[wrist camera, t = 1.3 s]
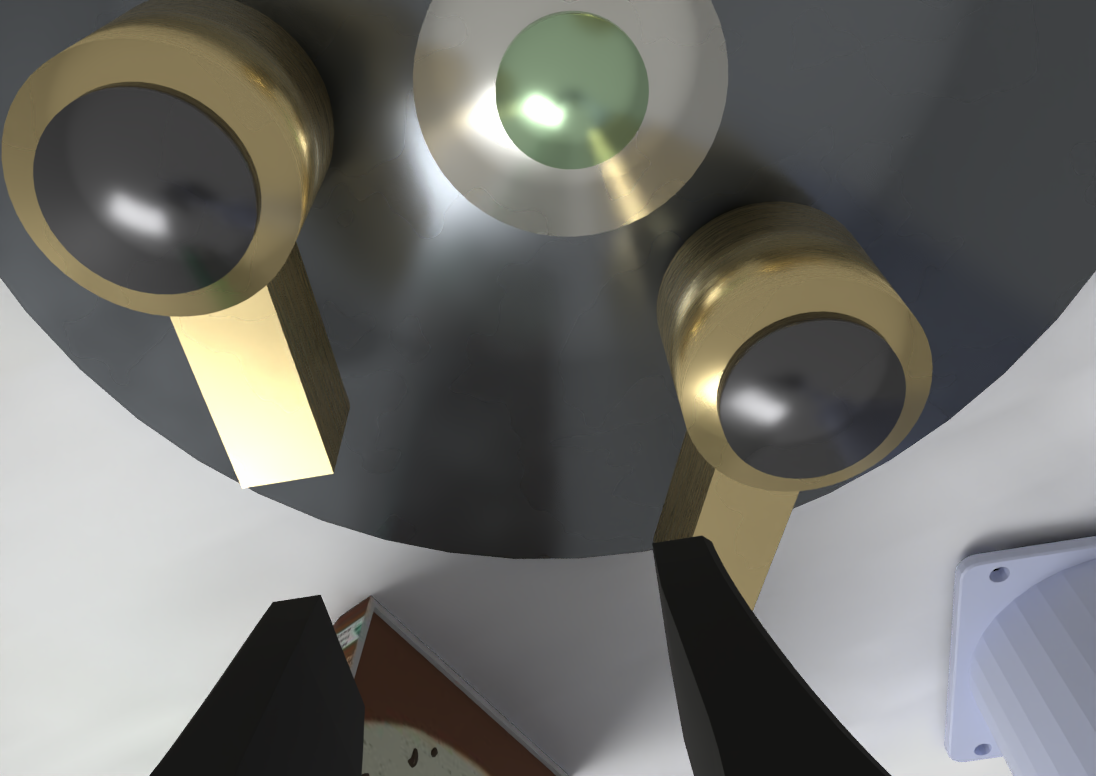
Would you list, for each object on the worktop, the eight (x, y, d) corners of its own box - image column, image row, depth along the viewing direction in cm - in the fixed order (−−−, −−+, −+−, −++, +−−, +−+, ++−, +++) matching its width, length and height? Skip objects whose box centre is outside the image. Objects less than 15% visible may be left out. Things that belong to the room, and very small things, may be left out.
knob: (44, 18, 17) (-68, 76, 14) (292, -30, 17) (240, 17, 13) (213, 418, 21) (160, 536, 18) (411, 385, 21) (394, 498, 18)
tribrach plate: (1395, -1180, 12) (1736, -1547, 8) (1121, 449, 24) (1216, 552, 21) (-481, -720, 13) (-807, -883, 10) (179, 596, 26) (132, 714, 22)
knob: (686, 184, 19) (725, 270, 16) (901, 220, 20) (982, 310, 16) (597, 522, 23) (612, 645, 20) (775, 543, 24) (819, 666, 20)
